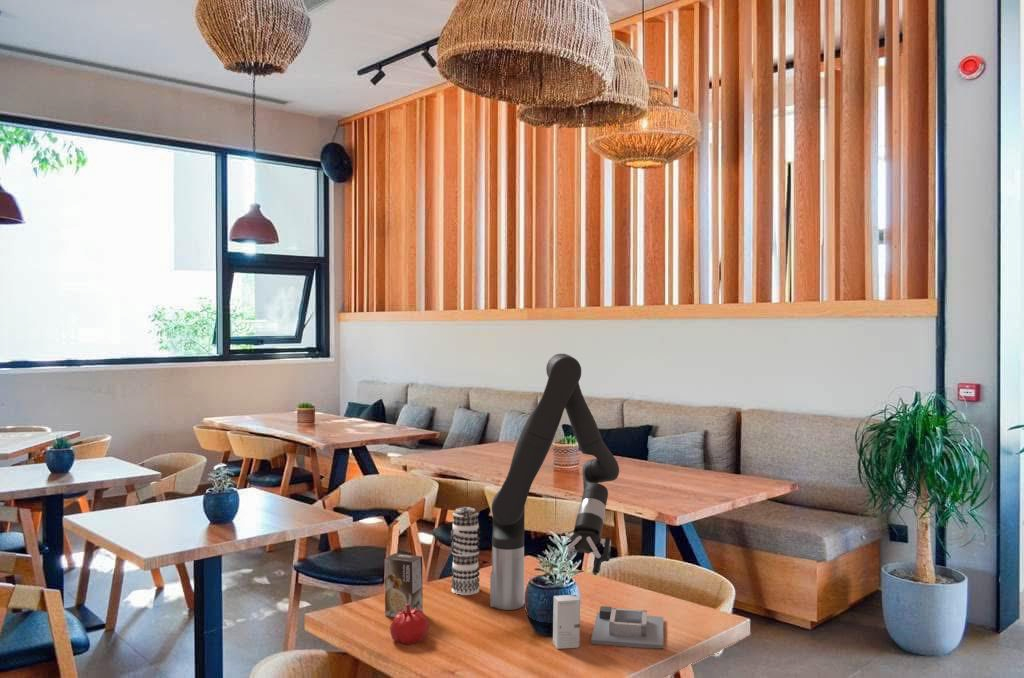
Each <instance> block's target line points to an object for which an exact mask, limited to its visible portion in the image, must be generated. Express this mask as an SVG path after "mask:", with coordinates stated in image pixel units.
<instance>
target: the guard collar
mask: <svg viewBox="0 0 1024 678" xmlns="http://www.w3.org/2000/svg"><path fill="white" fill-rule="evenodd" d="M647 616H648V610H646V609H634V608H633V609H632V608H631V609H630V608H617V607H612V610H611V616H610V621H609V635H619V636H633V637H646V631H647ZM616 621H625V622H640V623H642V624H638V623H624V622H616Z"/></svg>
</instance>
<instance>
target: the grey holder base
mask: <svg viewBox="0 0 1024 678" xmlns="http://www.w3.org/2000/svg"><path fill="white" fill-rule="evenodd" d="M612 608H613V607H612V606H605V605H601V606H600V609H599V612H596V616H595V621H594V625H593V629H592V634H591V639H590V644H591V645H602V646H603V645H604V646H614V647H617V646H618V647H629V648H644V649H654V648H663V649H664V616H657V615H655V616H654V615H647V631H646V637H633V636H619V635H609V621H610V616H611V610H612ZM616 622H624V623H638V624H642V623H640V622H625V621H616Z"/></svg>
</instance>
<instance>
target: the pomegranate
mask: <svg viewBox="0 0 1024 678" xmlns="http://www.w3.org/2000/svg"><path fill="white" fill-rule="evenodd" d="M406 607H407V611H403V610H401V609H398V610H396V611H401V612H400V613H398V614H397V615H396V616H395V617H393V620H392V622H391V624H390V626H389V630H390V636H391V638H392V640H394V641H395V642H396V643H398V644H402V645H407V646H409V645H413V644H416V643H419V642H420V641H422V640H423V639H424V638H426V636H427V635H428V632H429V629H430V622H429V619H428V618H427V616H426V615H425V612H424V611H423V612H422V611H420V610H416V609H420V608H415V609H414V610H410V604H407V605H406Z"/></svg>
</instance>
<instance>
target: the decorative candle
mask: <svg viewBox="0 0 1024 678" xmlns="http://www.w3.org/2000/svg"><path fill="white" fill-rule="evenodd" d="M479 514H480V513H479V512H478V511H477V510H476V509H475V508H474V507H472V506H461V507H456V508H455V510H454V511H453V512H452V513H451V515H452V516H453V517H452V518H453V519H452V521H453V522H452V530H450V540H451V541H452V542H451V544H450V545H451V548H450V549H451V550H450V551H451V554H452V555H453V556H452V557H453V558H452V559H453V560H452V566H451V576H452V578H451V580H450V581H451V586H450V587H451V592H452V594H454V593H456V594H455V595H457V594H460V595H459V596H470V595H471V596H472V595H476V594H478V593H479V592H480V588H479V587H480V577H479V576H480V572H479V571H480V567H479V558H478V557H479V554H480V548H479V547H478V546H480V545H481V542H480V541H479V540H481V537H480V536H479V535H480V533H481V530H480V529H481V525H479Z"/></svg>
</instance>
